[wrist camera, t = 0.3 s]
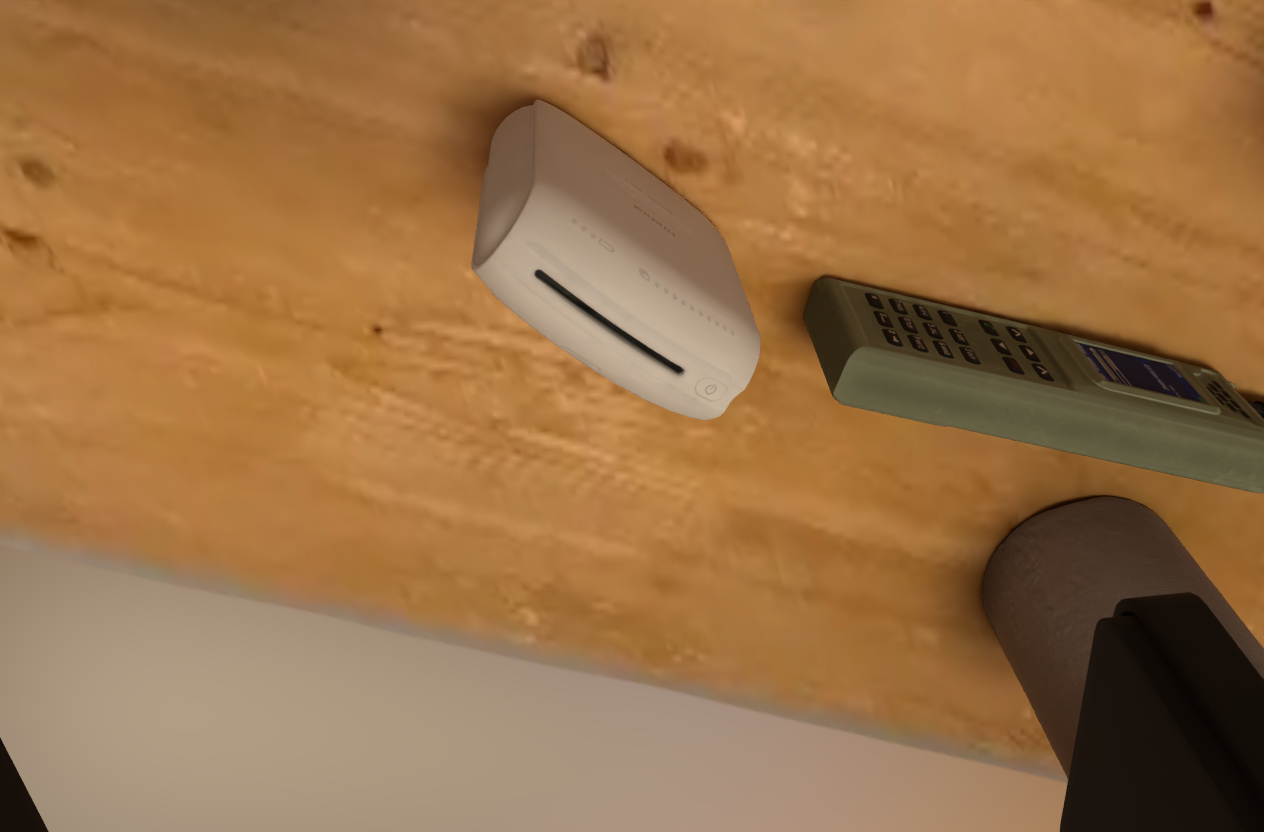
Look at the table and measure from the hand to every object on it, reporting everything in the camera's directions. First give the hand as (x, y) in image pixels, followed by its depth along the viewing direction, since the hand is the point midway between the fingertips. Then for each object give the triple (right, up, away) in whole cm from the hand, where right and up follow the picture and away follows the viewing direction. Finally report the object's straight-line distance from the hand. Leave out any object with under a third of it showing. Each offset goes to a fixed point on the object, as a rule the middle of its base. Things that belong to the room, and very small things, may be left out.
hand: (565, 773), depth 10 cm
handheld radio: (+20, +6, +40) cm, 45 cm away
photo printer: (0, +12, +35) cm, 37 cm away
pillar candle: (+23, -5, +46) cm, 52 cm away
